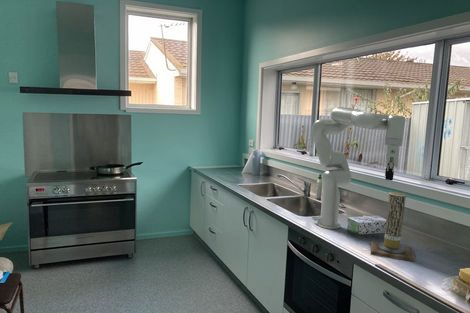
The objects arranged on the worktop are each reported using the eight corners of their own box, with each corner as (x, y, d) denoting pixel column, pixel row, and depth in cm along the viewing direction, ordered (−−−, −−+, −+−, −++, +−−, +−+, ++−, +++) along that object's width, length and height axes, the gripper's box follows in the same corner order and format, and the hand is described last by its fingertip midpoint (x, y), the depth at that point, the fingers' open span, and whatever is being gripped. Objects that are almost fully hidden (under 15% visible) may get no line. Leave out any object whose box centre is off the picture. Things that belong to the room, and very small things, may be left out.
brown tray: (370, 254, 162) (371, 248, 162) (370, 243, 176) (370, 238, 176) (414, 261, 156) (415, 256, 156) (411, 250, 170) (411, 245, 170)
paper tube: (386, 243, 171) (392, 191, 168) (401, 247, 167) (407, 193, 164) (381, 246, 166) (387, 193, 163) (397, 250, 162) (403, 195, 159)
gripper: (403, 144, 159) (398, 182, 162) (401, 141, 175) (396, 176, 178) (385, 142, 162) (380, 180, 164) (384, 140, 178) (380, 174, 180)
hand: (388, 178), depth 171 cm, fingers open, 9 cm apart
